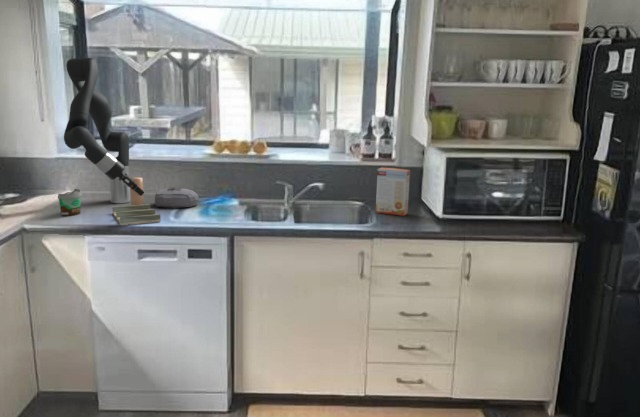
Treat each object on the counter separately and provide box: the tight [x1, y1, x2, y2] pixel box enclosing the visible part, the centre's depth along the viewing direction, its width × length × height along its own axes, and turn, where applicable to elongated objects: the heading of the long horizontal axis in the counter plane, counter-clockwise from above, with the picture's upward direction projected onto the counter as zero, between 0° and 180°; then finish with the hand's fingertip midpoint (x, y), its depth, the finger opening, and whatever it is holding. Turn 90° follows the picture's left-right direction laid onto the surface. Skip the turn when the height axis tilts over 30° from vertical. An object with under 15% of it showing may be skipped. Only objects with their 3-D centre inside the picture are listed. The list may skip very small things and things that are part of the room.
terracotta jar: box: [130, 176, 145, 206], centre depth 237 cm, size 5×5×11 cm
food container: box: [57, 188, 83, 217], centre depth 246 cm, size 12×6×10 cm, turn 168°
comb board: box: [111, 203, 161, 226], centre depth 244 cm, size 21×16×3 cm
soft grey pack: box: [154, 186, 200, 209], centre depth 268 cm, size 15×8×20 cm
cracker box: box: [375, 167, 411, 217], centre depth 262 cm, size 14×6×21 cm, turn 65°
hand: (141, 192), depth 238 cm, fingers closed on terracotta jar, 5 cm apart
